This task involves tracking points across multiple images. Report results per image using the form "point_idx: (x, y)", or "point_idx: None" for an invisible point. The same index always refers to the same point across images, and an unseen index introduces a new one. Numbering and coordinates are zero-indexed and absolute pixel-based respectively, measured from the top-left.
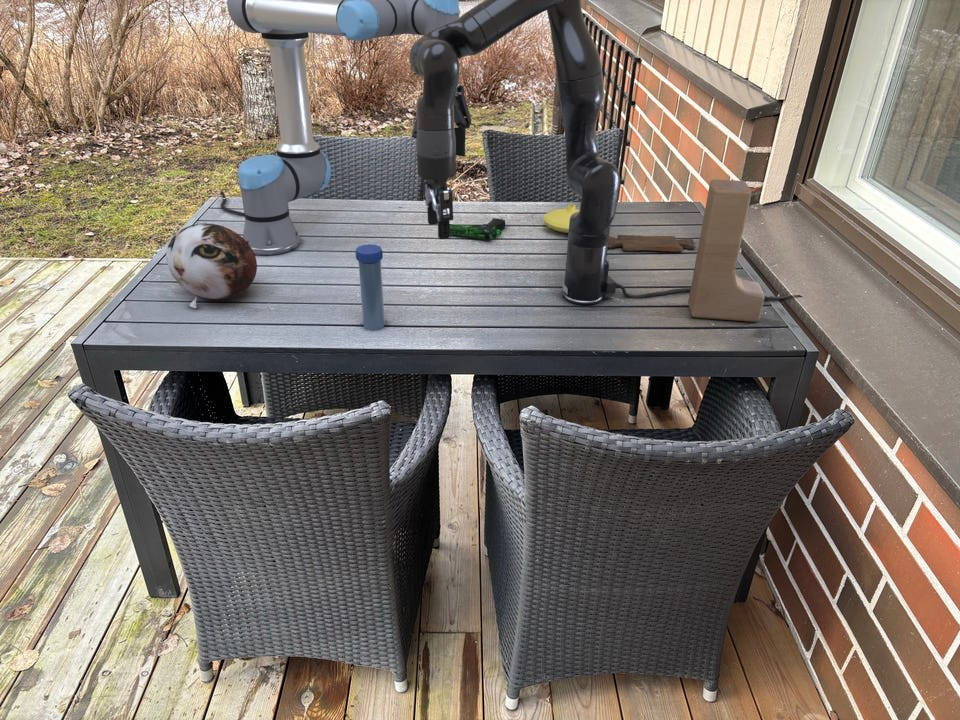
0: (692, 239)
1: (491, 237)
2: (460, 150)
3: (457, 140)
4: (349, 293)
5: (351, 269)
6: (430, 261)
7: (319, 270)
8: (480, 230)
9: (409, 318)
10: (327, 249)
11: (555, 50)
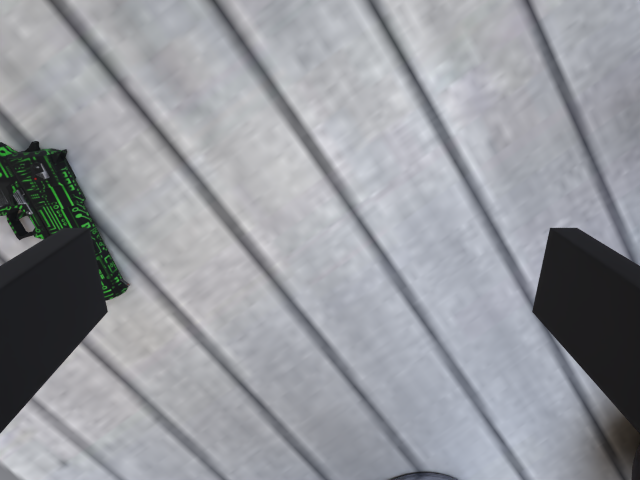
0: None
1: (48, 149)
2: (68, 278)
3: (20, 361)
4: None
5: (440, 326)
6: (290, 206)
7: (480, 373)
8: (51, 193)
9: (634, 25)
10: (374, 429)
11: None
